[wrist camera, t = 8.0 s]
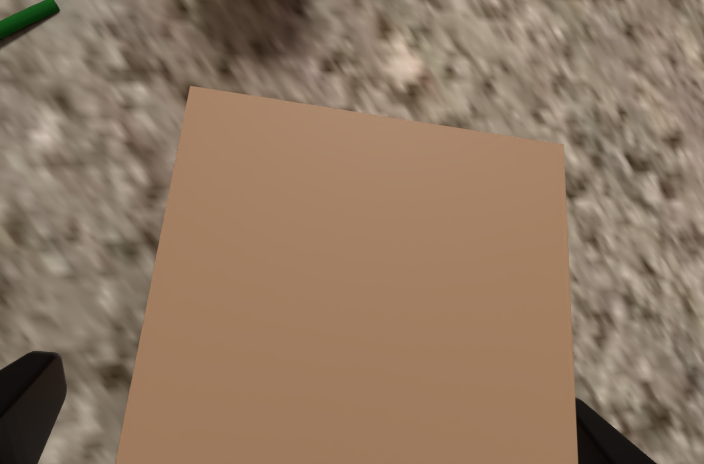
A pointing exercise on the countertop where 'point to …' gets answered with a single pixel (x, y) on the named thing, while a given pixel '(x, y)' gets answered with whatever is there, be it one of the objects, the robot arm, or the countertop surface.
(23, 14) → the flower
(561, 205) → the block
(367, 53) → the countertop surface
